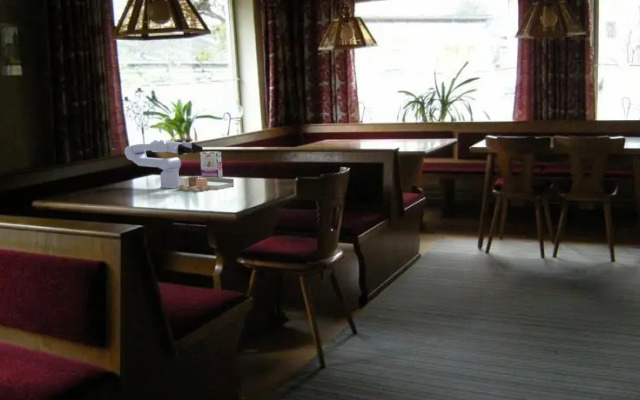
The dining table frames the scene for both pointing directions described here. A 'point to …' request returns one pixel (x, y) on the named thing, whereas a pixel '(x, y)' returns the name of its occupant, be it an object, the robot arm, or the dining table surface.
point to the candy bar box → (211, 164)
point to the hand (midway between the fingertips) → (196, 149)
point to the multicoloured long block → (193, 185)
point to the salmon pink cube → (201, 182)
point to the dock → (219, 182)
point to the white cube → (184, 181)
